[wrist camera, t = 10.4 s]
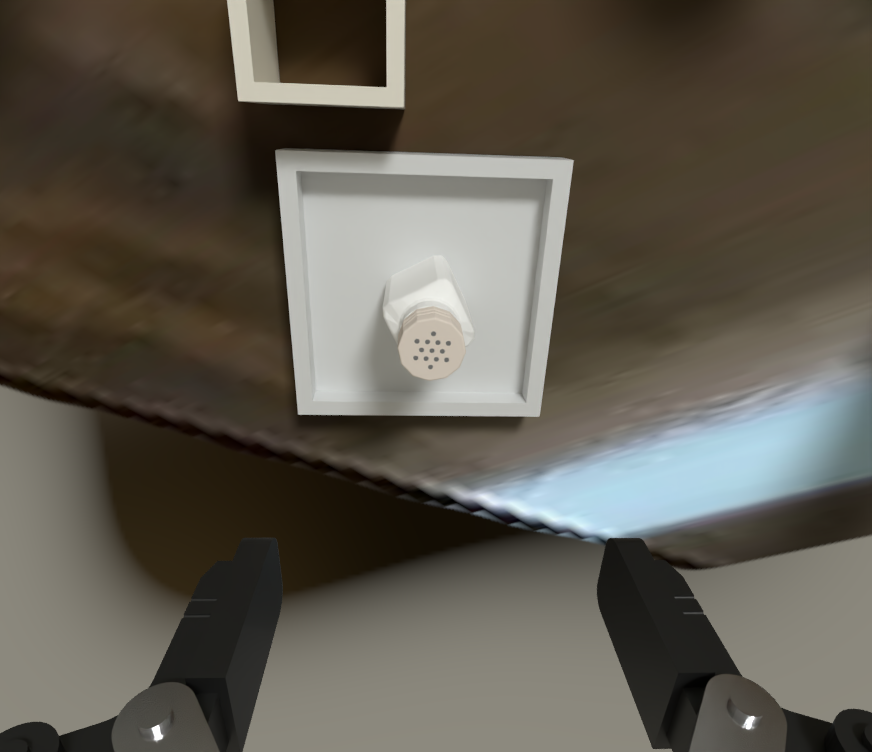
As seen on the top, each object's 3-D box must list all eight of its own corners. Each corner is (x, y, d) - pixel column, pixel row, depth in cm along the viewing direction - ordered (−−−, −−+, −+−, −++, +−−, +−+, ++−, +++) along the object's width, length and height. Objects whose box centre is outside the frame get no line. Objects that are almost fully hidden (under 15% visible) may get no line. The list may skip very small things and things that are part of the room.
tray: (561, 157, 32) (573, 160, 29) (531, 399, 38) (539, 416, 36) (285, 147, 31) (275, 150, 28) (304, 396, 38) (298, 414, 35)
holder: (406, -61, 27) (405, -102, 22) (404, 109, 30) (404, 107, 25) (251, -69, 26) (214, -113, 21) (267, 104, 30) (238, 101, 25)
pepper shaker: (441, 248, 33) (453, 295, 24) (468, 306, 34) (488, 368, 26) (383, 277, 33) (373, 332, 25) (411, 331, 35) (412, 401, 26)
